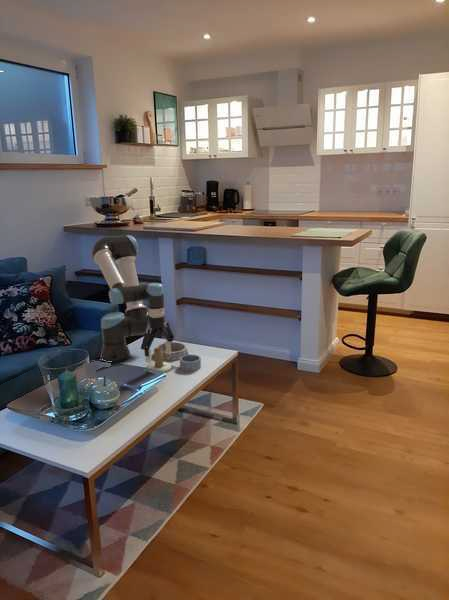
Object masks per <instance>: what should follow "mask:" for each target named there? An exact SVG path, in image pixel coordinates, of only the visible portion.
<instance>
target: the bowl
mask: <svg viewBox="0 0 449 600" xmlns="http://www.w3.org/2000/svg"><path fill="white" fill-rule="evenodd" d="M201 367H202V357H201V356H200V355H197V354H186V355H184V356H182V357H180V360H179V369H180V370H181V371H182V372H197V371H198V370H200V369H201Z"/></svg>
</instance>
